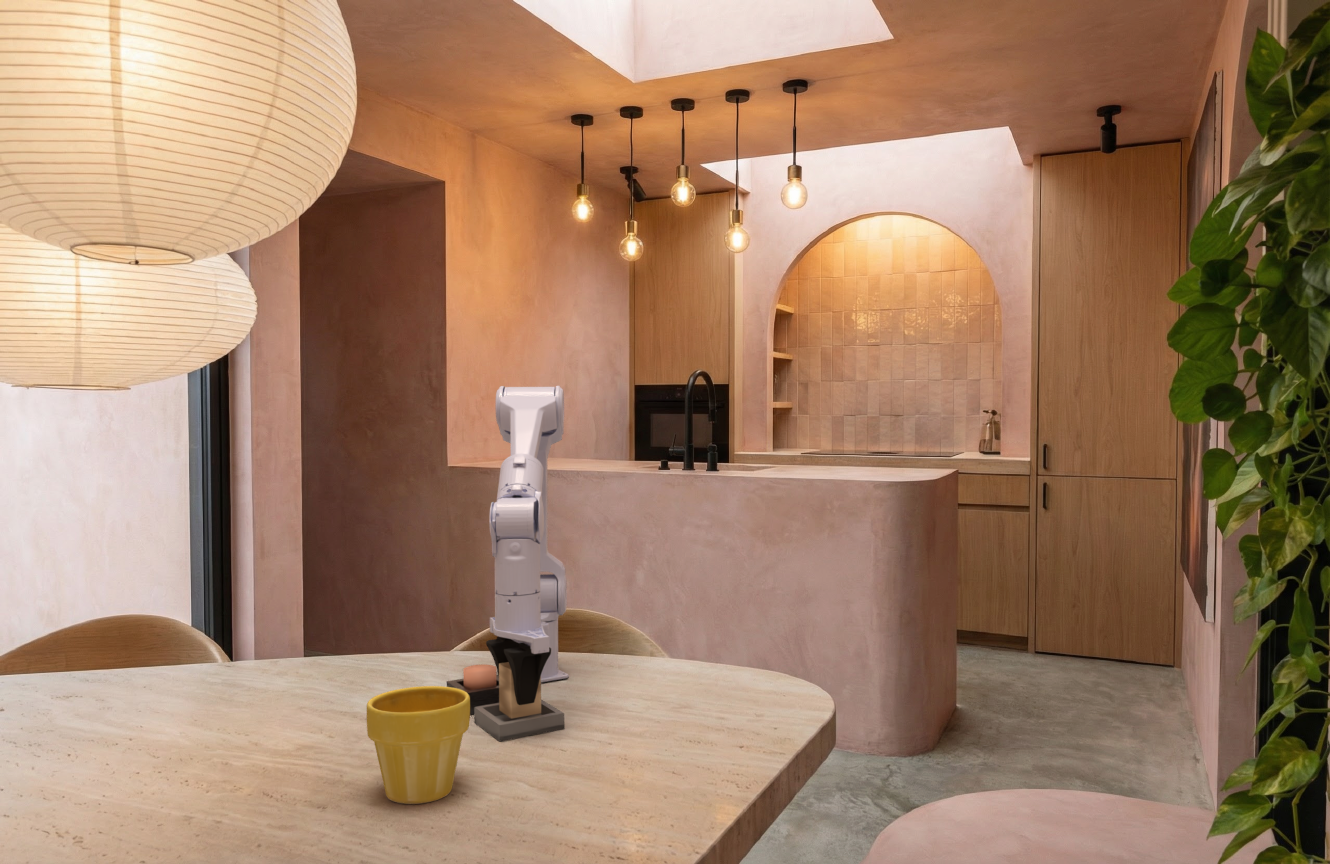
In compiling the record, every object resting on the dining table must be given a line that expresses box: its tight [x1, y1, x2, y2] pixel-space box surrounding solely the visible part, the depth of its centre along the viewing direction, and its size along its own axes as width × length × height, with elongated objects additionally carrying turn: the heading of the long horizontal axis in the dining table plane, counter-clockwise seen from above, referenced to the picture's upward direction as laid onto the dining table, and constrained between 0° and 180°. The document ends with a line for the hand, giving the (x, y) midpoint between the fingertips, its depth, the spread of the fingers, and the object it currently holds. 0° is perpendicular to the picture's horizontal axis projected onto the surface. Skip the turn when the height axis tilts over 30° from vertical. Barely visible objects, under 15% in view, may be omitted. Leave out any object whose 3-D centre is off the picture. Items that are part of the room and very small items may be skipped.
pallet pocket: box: [473, 698, 565, 742], centre depth 117 cm, size 9×9×2 cm
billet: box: [498, 662, 542, 719], centre depth 117 cm, size 4×4×6 cm
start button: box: [462, 663, 497, 690], centre depth 125 cm, size 4×4×3 cm
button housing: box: [446, 674, 499, 716], centre depth 125 cm, size 7×7×3 cm
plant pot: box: [366, 685, 471, 805], centre depth 96 cm, size 10×10×10 cm
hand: (518, 698), depth 116 cm, fingers closed on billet, 4 cm apart
